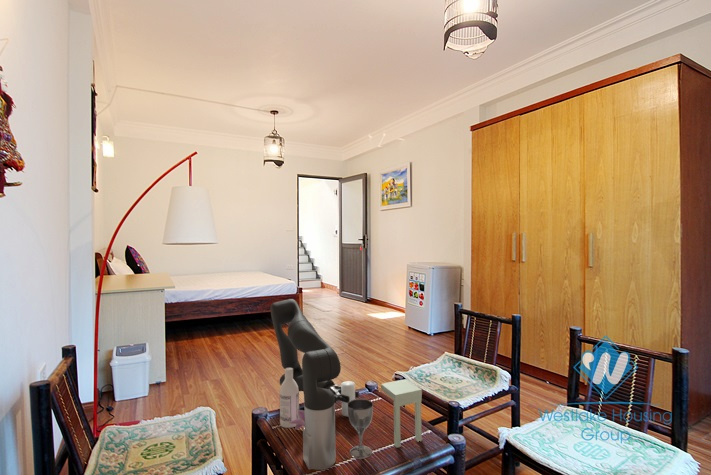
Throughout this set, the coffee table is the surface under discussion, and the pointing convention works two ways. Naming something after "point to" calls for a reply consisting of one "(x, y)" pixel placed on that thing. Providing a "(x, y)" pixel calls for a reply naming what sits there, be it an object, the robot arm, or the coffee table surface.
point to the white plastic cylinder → (347, 394)
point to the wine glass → (360, 424)
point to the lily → (299, 420)
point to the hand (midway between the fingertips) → (353, 397)
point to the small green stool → (404, 395)
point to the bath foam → (289, 400)
